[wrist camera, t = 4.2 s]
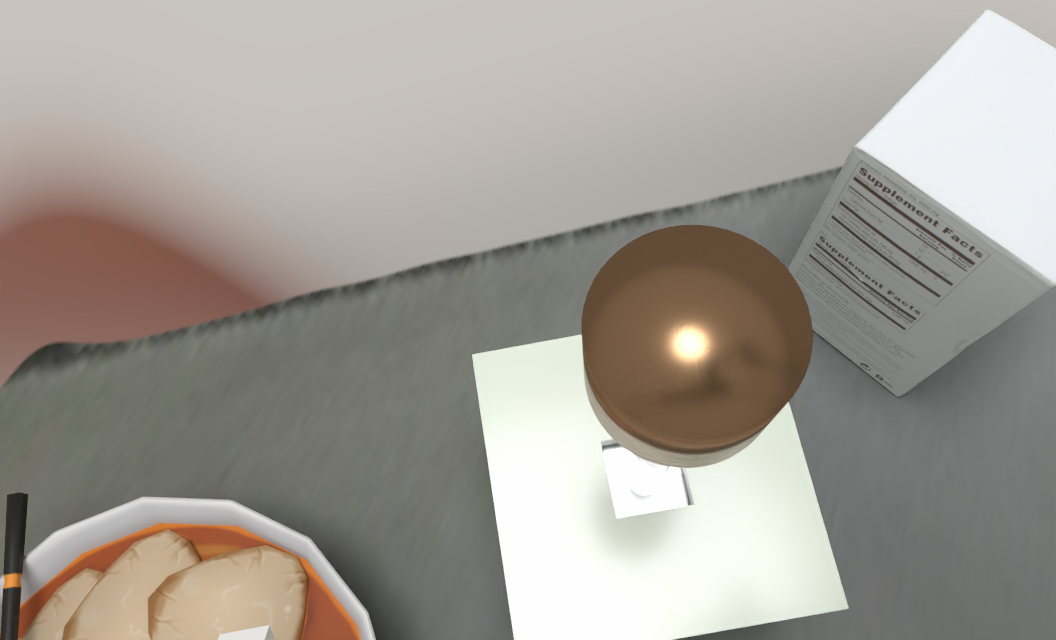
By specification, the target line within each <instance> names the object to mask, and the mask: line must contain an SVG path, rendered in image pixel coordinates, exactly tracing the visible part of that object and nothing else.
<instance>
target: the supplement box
mask: <svg viewBox="0 0 1056 640" xmlns="http://www.w3.org/2000/svg"><path fill="white" fill-rule="evenodd" d="M788 270H789V272H790V273H791V274H792V276H793V277H794V278H795V280H796V281H797V283H798V285H799V287H800V289H801V290H802V292H803V294H804V297H805V300H806V302H807V305H808V308H809V312H810V316H811V320H812V330H813V331H815V332H816V333H817V334H819V335H820V336H821V337H822V338H824V339H825V340H826V341H827V342H829V343H830V344H831V345H832V346H834V347H835V348H836V349H838V350H839V351H840V352H841V353H843V354H844V355H845V356H846V357H848V358H849V359H850V360H851V361H853V362H854V363H855V364H856V365H858V366H859V367H860V368H861V369H863V370H864V371H865V372H866V373H868V374H869V375H870V376H871V377H873V378H874V379H875V380H877V381H878V382H879V383H880V384H882V385H883V386H884V387H885V388H887V389H888V390H889V391H890V392H892V393H893V394H894V395H896V396H897V397H901V396H903V395H904V394H905V393H907V392H908V391H909V390H911V389H912V388H913V387H915V386H916V385H917V384H919V383H920V382H921V381H923V380H924V379H926V378H927V377H928V376H930V375H931V374H933V373H934V372H935V371H937V370H938V369H940V368H941V367H942V366H944V365H945V364H947V363H948V362H949V361H951V360H952V359H953V358H955V357H956V356H957V355H959V354H960V353H961V352H962V351H963V350H964V349H965V348H966V347H967V346H969V345H970V344H972V343H974V342H975V341H977V340H978V339H979V338H981V337H982V336H984V335H986V334H987V333H989V332H990V331H992V330H993V329H995V328H996V327H998V326H999V325H1001V324H1002V323H1004V322H1005V321H1006V320H1008V319H1009V318H1011V317H1012V316H1014V315H1015V314H1017V313H1018V312H1019V311H1021V310H1022V309H1023V308H1025V307H1026V306H1028V305H1029V304H1031V303H1032V302H1033V301H1035V300H1036V299H1038V298H1039V297H1041V296H1042V295H1043V294H1045V293H1046V292H1048V291H1049V290H1050V289H1052V288H1053V287H1054V286H1056V49H1055V48H1054V47H1052V46H1050V45H1049V44H1047V43H1045V42H1043V41H1042V40H1040V39H1039V38H1037V37H1036V36H1034V35H1032V34H1030V33H1029V32H1027V31H1026V30H1024V29H1023V28H1021V27H1019V26H1018V25H1016V24H1014V23H1012V22H1011V21H1009V20H1007V19H1005V18H1003V17H1002V16H1000V15H998V14H996V13H994V12H992V11H991V10H985V11H984V12H983V13H982V14H981V15H980V16H979V17H978V18H977V19H976V20H975V21H974V22H973V23H972V25H971V26H970V27H969V28H968V29H967V30H966V31H965V32H964V33H963V34H962V35H961V36H960V37H959V38H958V39H957V40H956V41H955V43H954V44H952V46H951V47H950V48H949V49H948V50H947V51H946V52H945V53H944V54H943V55H942V56H941V57H940V58H939V59H938V60H937V61H936V62H935V63H934V64H933V66H931V67H930V69H929V70H928V71H927V72H926V73H925V74H924V75H923V76H922V77H921V78H920V79H919V80H918V81H917V82H916V83H915V84H914V85H913V86H912V87H911V88H910V89H909V91H908V92H907V93H906V94H905V95H904V96H903V97H902V98H901V99H900V100H899V101H898V102H897V103H896V104H895V105H894V106H893V107H892V108H891V109H890V110H889V111H888V113H886V115H885V116H884V117H883V118H882V119H881V120H880V121H879V122H878V123H877V124H876V125H875V126H874V127H873V128H872V129H871V130H870V131H869V132H868V133H867V134H866V135H865V136H864V137H863V138H862V139H861V140H860V142H858V143H857V144H856V145H855V146H854V147H853V148H852V150H851V152H850V154H849V155H848V157H847V159H846V161H845V163H844V165H843V167H842V169H841V171H840V173H839V175H838V176H837V178H836V180H835V182H834V184H833V186H832V188H831V190H830V192H829V193H828V195H827V197H826V199H825V201H824V203H823V205H822V207H821V208H820V210H819V212H818V214H817V216H816V218H815V219H814V221H813V223H812V225H811V227H810V229H809V231H808V233H807V234H806V236H805V238H804V240H803V242H802V244H801V246H800V247H799V249H798V251H797V253H796V255H795V257H794V259H793V260H792V262H791V264H790V266H789V268H788Z"/></svg>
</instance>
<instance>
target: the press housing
mask: <svg viewBox="0 0 1056 640" xmlns="http://www.w3.org/2000/svg"><path fill="white" fill-rule="evenodd" d="M472 357H473V364H474V371H475V378H476V385H477V391H478V398H479V405H480V412H481V418H482V425H483V432H484V439H485V446H486V452H487V459H488V466H489V473H490V479H491V486H492V493H493V500H494V507H495V513H496V520H497V527H498V534H499V540H500V547H501V554H502V561H503V568H504V574H505V581H506V588H507V595H508V601H509V608H510V615H511V622H512V629H513V635H514V640H674V639H679V638H685V637H691V636H696V635H702V634H708V633H713V632H719V631H725V630H730V629H736V628H742V627H747V626H753V625H759V624H764V623H770V622H776V621H781V620H787V619H793V618H798V617H804V616H810V615H815V614H821V613H827V612H832V611H838V610H844V609H849V608H848V604H847V601H846V598H845V594H844V591H843V587H842V584H841V580H840V577H839V573H838V570H837V567H836V563H835V560H834V556H833V553H832V549H831V546H830V543H829V539H828V536H827V532H826V529H825V525H824V522H823V518H822V515H821V512H820V508H819V505H818V501H817V498H816V494H815V491H814V487H813V484H812V481H811V477H810V474H809V470H808V467H807V463H806V460H805V457H804V453H803V450H802V446H801V443H800V439H799V436H798V432H797V429H796V426H795V422H794V419H793V415H792V412H791V408H790V405H789V402H788V403H787V404H786V405H785V406H784V407H783V409H782V410H781V411H780V412H779V413H778V414H777V415H776V417H775V418H774V419H773V420H772V421H771V422H770V423H769V424H768V426H767V427H766V428H765V429H764V430H763V431H762V432H761V434H760V435H759V436H758V437H757V438H756V439H755V440H754V441H753V442H752V443H751V444H750V445H749V446H747V447H746V448H745V449H743V450H742V451H741V452H739V453H738V454H736V455H734V456H732V457H731V458H729V459H726V460H724V461H721V462H719V463H716V464H712V465H708V466H704V467H696V468H682V469H683V474H684V478H685V482H686V486H687V491H688V495H689V499H690V503H691V505H689V506H684V507H678V508H673V509H667V510H662V511H656V512H650V513H645V514H639V515H634V516H628V517H622V518H617V519H616V515H615V510H614V505H613V500H612V495H611V490H610V485H609V480H608V475H607V470H606V465H605V460H604V455H603V450H602V446H606V445H612V444H617V442H616V441H615V440H614V439H613V438H612V437H611V436H610V435H609V434H608V433H607V432H606V430H605V429H604V428H603V426H602V425H601V424H600V422H599V421H598V419H597V417H596V415H595V414H594V412H593V410H592V407H591V405H590V402H589V400H588V396H587V392H586V388H585V380H584V366H583V348H582V335H576V336H571V337H565V338H560V339H555V340H549V341H544V342H538V343H533V344H527V345H522V346H516V347H511V348H505V349H500V350H495V351H489V352H484V353H478V354H473V355H472Z"/></svg>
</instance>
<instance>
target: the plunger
mask: <svg viewBox="0 0 1056 640" xmlns="http://www.w3.org/2000/svg"><path fill="white" fill-rule="evenodd" d="M812 342H813V331H812V320H811V316H810V312H809V308H808V305H807V302H806V300H805V297H804V294H803V292H802V290H801V289H800V287H799V285H798V283H797V281H796V280H795V278H794V277H793V276H792V274H791V273H790V272H789V270H788V269H787V268H786V267H785V266H784V265H783V264H782V262H781V261H780V260H779V259H778V258H777V257H775V256H774V255H773V254H772V253H771V252H769V251H768V250H767V249H766V248H764V247H762V246H761V245H759V244H758V243H756V242H755V241H753V240H751V239H749V238H747V237H745V236H743V235H740V234H737V233H735V232H732V231H729V230H726V229H721V228H717V227H712V226H702V225H682V226H674V227H668V228H664V229H660V230H656V231H653V232H651V233H648V234H645V235H643V236H641V237H639V238H637V239H635V240H633V241H631V242H630V243H628V244H627V245H626V246H624V247H623V248H621V249H620V250H619V251H618V252H616V253H615V254H614V255H613V256H612V257H611V258H610V259H609V260H608V261H607V262H606V264H605V265H604V266H603V267H602V268H601V270H600V271H599V273H598V274H597V276H596V277H595V279H594V281H593V283H592V285H591V287H590V289H589V292H588V294H587V297H586V301H585V304H584V309H583V315H582V348H583V366H584V380H585V388H586V392H587V396H588V400H589V402H590V405H591V407H592V410H593V412H594V414H595V415H596V417H597V419H598V421H599V422H600V424H601V425H602V426H603V428H604V429H605V430H606V432H607V433H608V434H609V435H610V436H611V437H612V438H613V439H614V440H615V441H616V442H617V444H612V445H606V446H602V450H603V455H604V460H605V465H606V470H607V475H608V480H609V485H610V490H611V495H612V500H613V505H614V510H615V515H616V519H617V518H622V517H628V516H634V515H639V514H645V513H650V512H656V511H662V510H667V509H673V508H678V507H684V506H689V505H691V503H690V499H689V495H688V491H687V486H686V482H685V478H684V474H683V469H682V468H696V467H704V466H708V465H712V464H716V463H719V462H721V461H724V460H726V459H729V458H731V457H732V456H734V455H736V454H738V453H739V452H741V451H742V450H743V449H745V448H746V447H747V446H749V445H750V444H751V443H752V442H753V441H754V440H755V439H756V438H757V437H758V436H759V435H760V434H761V432H762V431H763V430H764V429H765V428H766V427H767V426H768V424H769V423H770V422H771V421H772V420H773V419H774V418H775V417H776V415H777V414H778V413H779V412H780V411H781V410H782V409H783V407H784V406H785V405H786V404H787V403H788V402H789V400H790V399H791V398H792V396H793V395H794V394H795V392H796V391H797V390H798V388H799V386H800V384H801V382H802V380H803V378H804V377H805V374H806V371H807V368H808V365H809V362H810V357H811V352H812Z"/></svg>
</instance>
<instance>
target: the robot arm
mask: <svg viewBox="0 0 1056 640" xmlns="http://www.w3.org/2000/svg"><path fill="white" fill-rule="evenodd" d="M218 640H275V638H274V635H273V633H272V630H271V628H270V626H269V625H267V626H262V627H256V628H251V629H246V630H240V631H235V632H230V633H224V634H220V635H219V638H218Z"/></svg>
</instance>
